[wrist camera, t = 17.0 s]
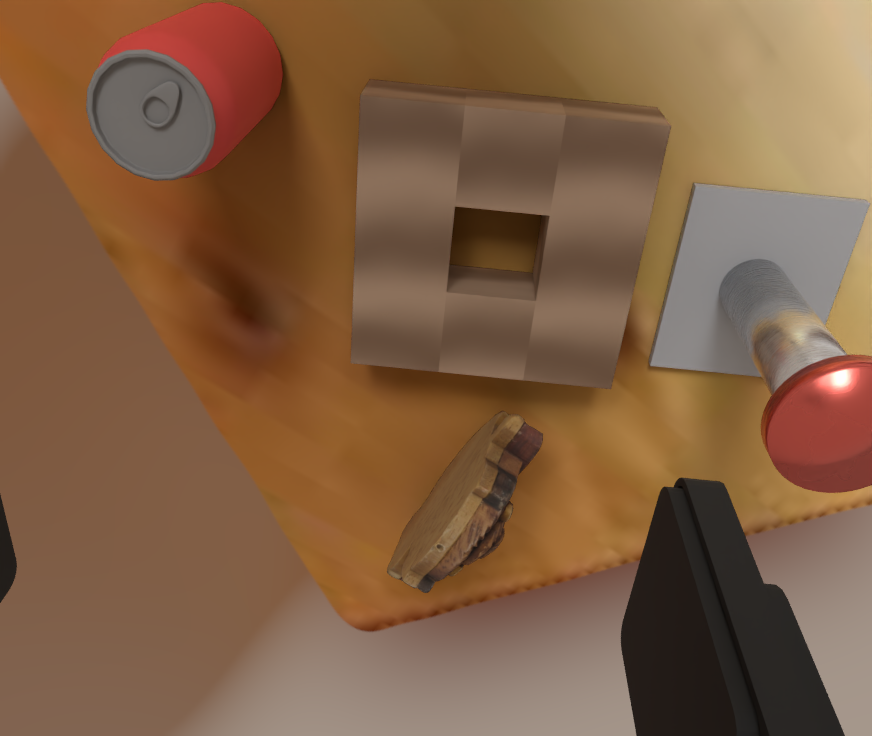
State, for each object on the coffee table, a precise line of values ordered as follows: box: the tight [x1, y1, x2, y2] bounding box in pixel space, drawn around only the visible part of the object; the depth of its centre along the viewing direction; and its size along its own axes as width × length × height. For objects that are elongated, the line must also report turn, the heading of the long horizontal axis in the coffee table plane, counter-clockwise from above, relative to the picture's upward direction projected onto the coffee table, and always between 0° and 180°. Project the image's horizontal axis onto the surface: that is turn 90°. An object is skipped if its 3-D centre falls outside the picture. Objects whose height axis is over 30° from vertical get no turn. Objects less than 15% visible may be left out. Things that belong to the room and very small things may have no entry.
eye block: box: [351, 79, 671, 389], centre depth 48 cm, size 16×16×4 cm
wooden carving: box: [387, 411, 543, 593], centre depth 54 cm, size 16×5×10 cm, turn 154°
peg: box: [719, 259, 872, 493], centre depth 43 cm, size 7×7×15 cm
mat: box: [649, 183, 870, 377], centre depth 50 cm, size 12×10×1 cm
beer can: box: [86, 2, 283, 181], centre depth 40 cm, size 7×7×12 cm
